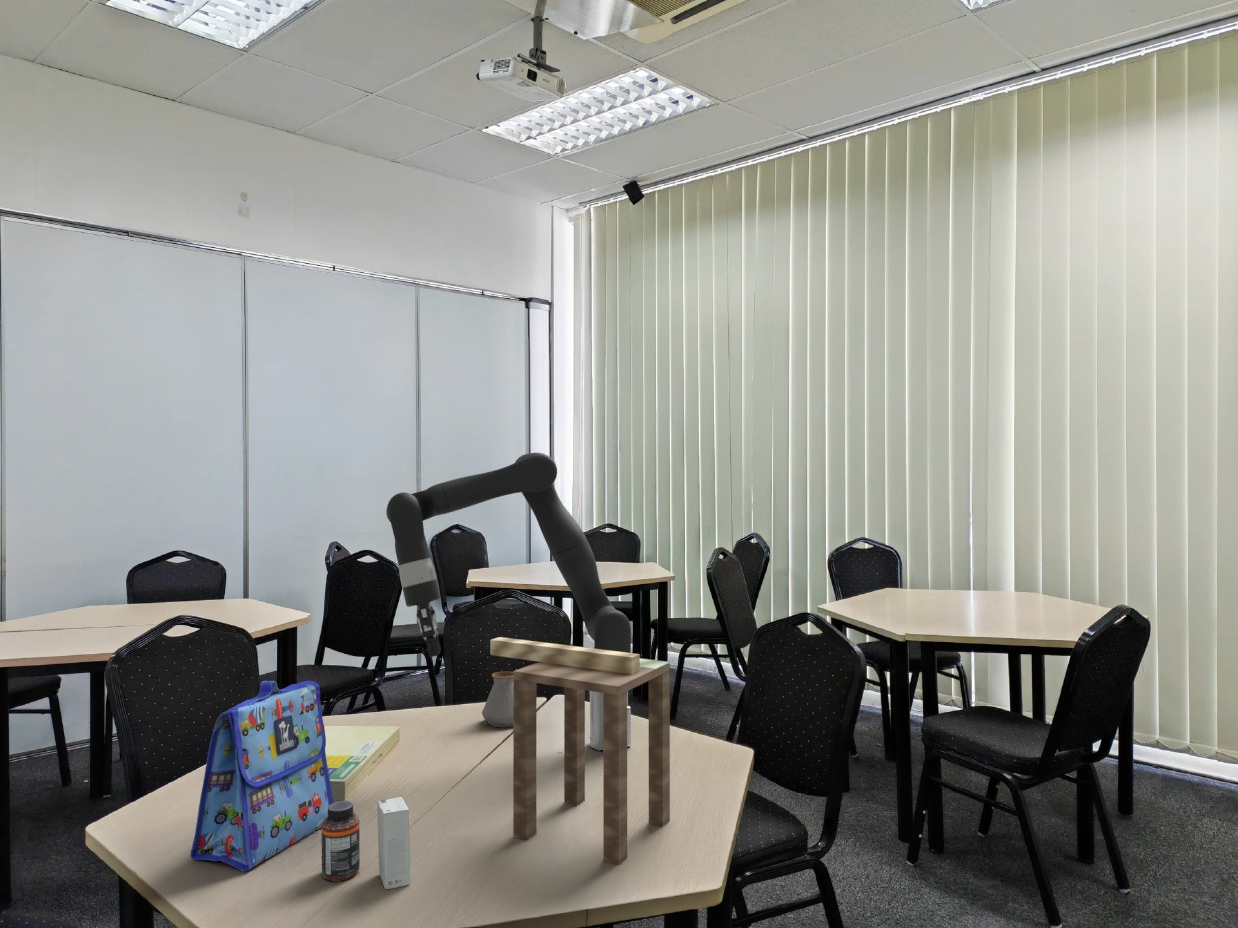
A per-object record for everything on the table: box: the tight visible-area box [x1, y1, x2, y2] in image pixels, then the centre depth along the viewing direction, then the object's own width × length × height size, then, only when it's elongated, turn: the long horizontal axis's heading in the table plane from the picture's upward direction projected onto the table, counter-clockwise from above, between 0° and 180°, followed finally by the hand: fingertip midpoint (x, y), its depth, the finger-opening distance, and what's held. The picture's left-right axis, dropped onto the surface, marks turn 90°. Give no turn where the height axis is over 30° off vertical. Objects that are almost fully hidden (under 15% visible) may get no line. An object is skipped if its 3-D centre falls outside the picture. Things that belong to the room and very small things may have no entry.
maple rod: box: [489, 636, 641, 674], centre depth 154 cm, size 32×3×3 cm, turn 61°
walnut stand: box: [512, 657, 671, 865], centre depth 150 cm, size 22×20×30 cm
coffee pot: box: [481, 671, 514, 728], centre depth 214 cm, size 21×12×15 cm, turn 99°
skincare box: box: [376, 796, 412, 890], centre depth 131 cm, size 6×4×12 cm
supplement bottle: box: [321, 800, 361, 882], centre depth 133 cm, size 6×6×11 cm
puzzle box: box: [324, 725, 401, 801], centre depth 181 cm, size 36×5×24 cm
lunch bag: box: [190, 680, 334, 872], centre depth 145 cm, size 22×14×29 cm, turn 160°
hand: (435, 654), depth 176 cm, fingers open, 8 cm apart
